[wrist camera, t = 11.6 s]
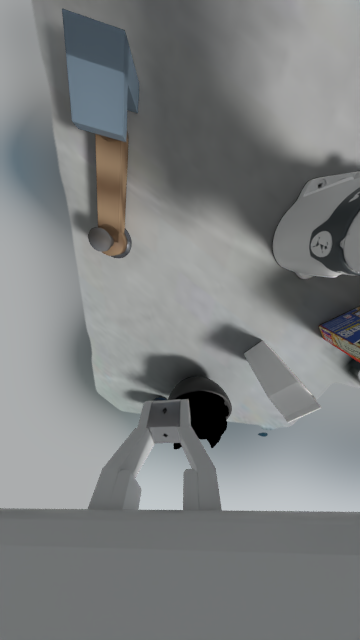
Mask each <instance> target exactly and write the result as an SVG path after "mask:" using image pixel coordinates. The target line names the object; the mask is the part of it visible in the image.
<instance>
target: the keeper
mask: <svg viewBox="0 0 360 640" xmlns="http://www.w3.org/2000/svg"><path fill="white" fill-rule="evenodd" d="M62 14H63V25H64V36H65V47H66V59H67V70H68V81H69V93H70V104H71V115H72V122H73V123H74V124H75V125H76V126H77V127H78V129H82V130H85V131H89V132H92V133H95V134H99V135H102V136H106V137H109V138H113V139H116V140H120V141H123V142H126V135H127V110H128V111H132V112H135V113H138V100H139V81H138V77H137V74H136V70H135V66H134V62H133V59H132V55H131V51H130V48H129V44H128V40H127V36H126V33H125V30H123V29H120V28H117V27H114V26H111V25H108V24H105V23H103V22H100V21H97V20H94V19H91V18H88V17H85V16H82V15H80V14H77V13H74V12H71V11H68V10H65V9H62Z"/></svg>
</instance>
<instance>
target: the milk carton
mask: <svg viewBox="0 0 360 640" xmlns="http://www.w3.org/2000/svg"><path fill="white" fill-rule="evenodd" d="M244 355H245V357H246V359H247V361H248V363H249V364H250V366H251V368H252V370H253V371H254V373H255V375H256V377H257V379H258V380H259V382H260V384H261V386H262V387H263V389H264V391H265V393H266V394H267V396H268V398H269V399H270V400H271V402H272V403H273V404H274V405H275V407H276V408H277V409H278V410H279V411H280V413H281V414H282V415H283V416H284V418H285V419H286V421H287V422H288V423H289V422H291V421H293V420H295V419H298V418H300V417H302V416H304V415H307V414H309V413H311V412H314V411H316V410H318V409H321V408H322V407H321V406H320V405H319V404H318V402H317V401H316V399H315V398H314V396H313V395H312V394H311V393H310V391H309V390H308V389H307V388H306V387H305V386H304V385H303V383H302V382H301V381H300V380H299V379H298V378H297V377H296V375H295V374H294V373H293V372H292V371H291V370H290V369H289V367H288V366H287V365H286V364H285V363H284V362H283V360H282V359H281V358H280V357H279V356H278V355H277V354H276V353H275V352H274V351H273V350H272V349H271V348H270V347H269V346H268V345H267V344H266V343H265V342H264V341H261V342H260V343H258V344H257V345H255V346H254V347H253V348H251V349H250V350H248V351H247V352H245V353H244Z"/></svg>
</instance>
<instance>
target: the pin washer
mask: <svg viewBox="0 0 360 640" xmlns="http://www.w3.org/2000/svg"><path fill="white" fill-rule="evenodd" d="M124 234H125V235H126V238H127V242H128V245H127V249H126V251H125V252H124V253H123V254H120V255H114V256H112V257H114V258H123V257H125V256H126V255H127V254H128V253H129V252H130V250H131V238H130V235H129V233H128V231H127V230H126V229H125V230H124Z"/></svg>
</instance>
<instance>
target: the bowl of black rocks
mask: <svg viewBox="0 0 360 640" xmlns="http://www.w3.org/2000/svg"><path fill="white" fill-rule="evenodd" d="M177 399H189V407H190V419H191V427H192V428H193V430H194V432H195V434H196V435H197V437H198V438H199V439H207V440H208V442H209V443H210V445H211V448H213V447H214V446H215V445H216V444H217V443H218V442H219V440H220V438H221V436H222V434H223V433H224V431H225V430H226V428H227V421H226V420H227V418H228V417H229V416H230V414H231V411H232V406H231V403H230V400H229V398H228V396H227V395H226V393H225V392H224V390H223V389H222V388H221V387H220V386H219V385H218V384H217V383H215V382H214V381H212V380H210V379H207V378H204V377H190V378H187V379H185V380H183V381H181V382H180V383H179V384H178V385H177V386H176V387H175V388H174V389H173V391H172V392H171V394H170V396H169V398H168V400H177ZM180 447H182V445H181V443H174V449H179V448H180Z"/></svg>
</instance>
